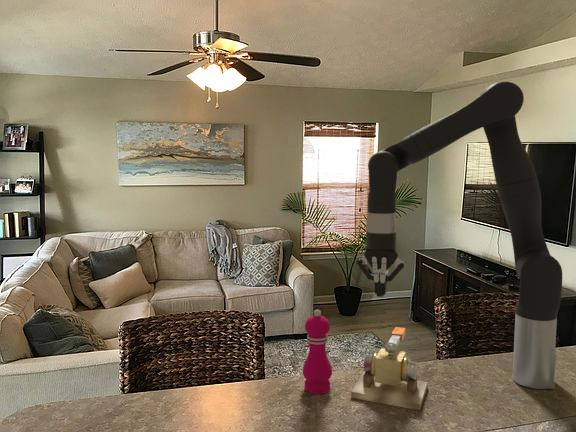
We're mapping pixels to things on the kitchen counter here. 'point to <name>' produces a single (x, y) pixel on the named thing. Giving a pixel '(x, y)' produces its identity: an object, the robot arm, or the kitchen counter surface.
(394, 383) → the ball valve
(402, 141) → the robot arm
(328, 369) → the pepper mill
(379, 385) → the board
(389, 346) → the lever
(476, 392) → the kitchen counter surface
